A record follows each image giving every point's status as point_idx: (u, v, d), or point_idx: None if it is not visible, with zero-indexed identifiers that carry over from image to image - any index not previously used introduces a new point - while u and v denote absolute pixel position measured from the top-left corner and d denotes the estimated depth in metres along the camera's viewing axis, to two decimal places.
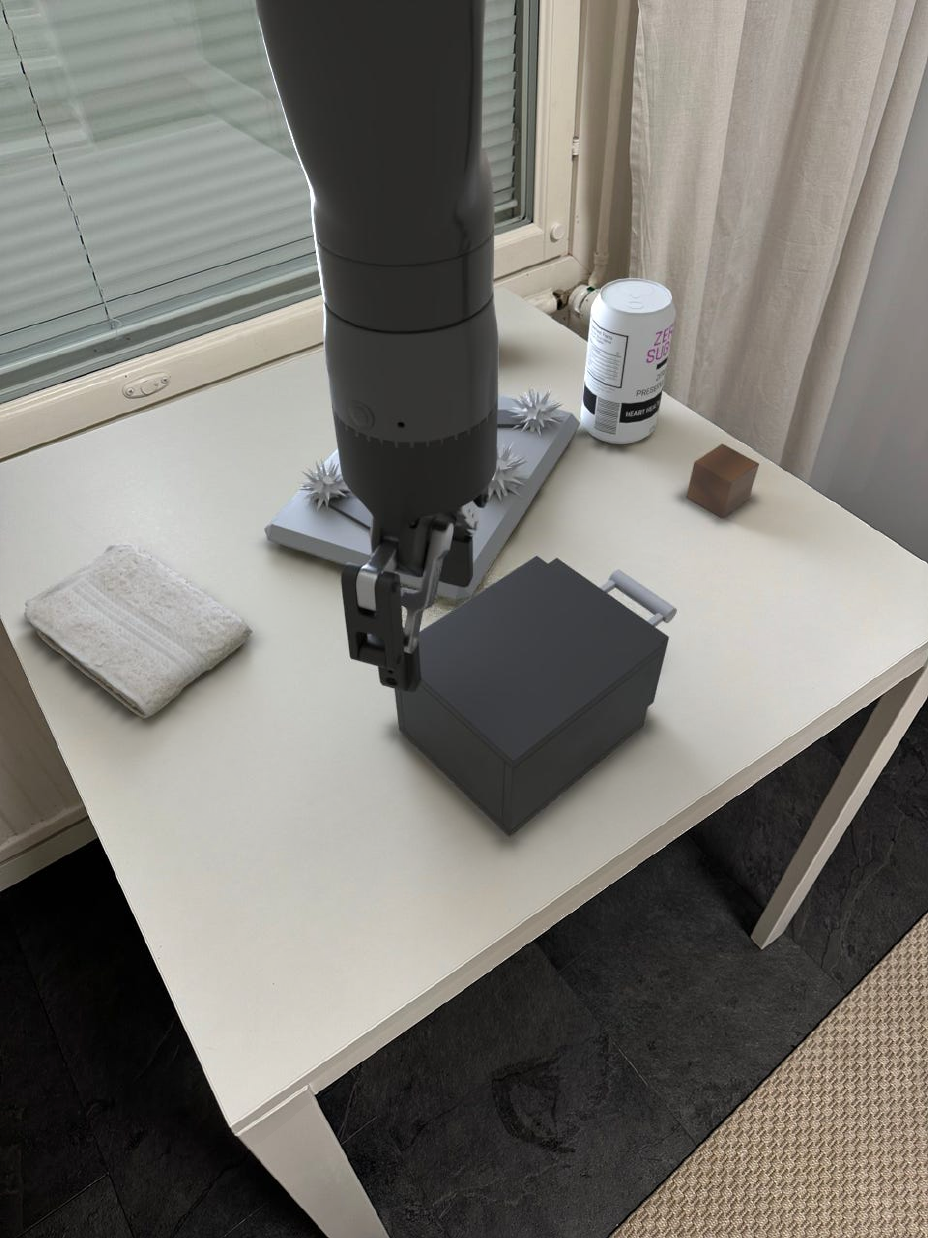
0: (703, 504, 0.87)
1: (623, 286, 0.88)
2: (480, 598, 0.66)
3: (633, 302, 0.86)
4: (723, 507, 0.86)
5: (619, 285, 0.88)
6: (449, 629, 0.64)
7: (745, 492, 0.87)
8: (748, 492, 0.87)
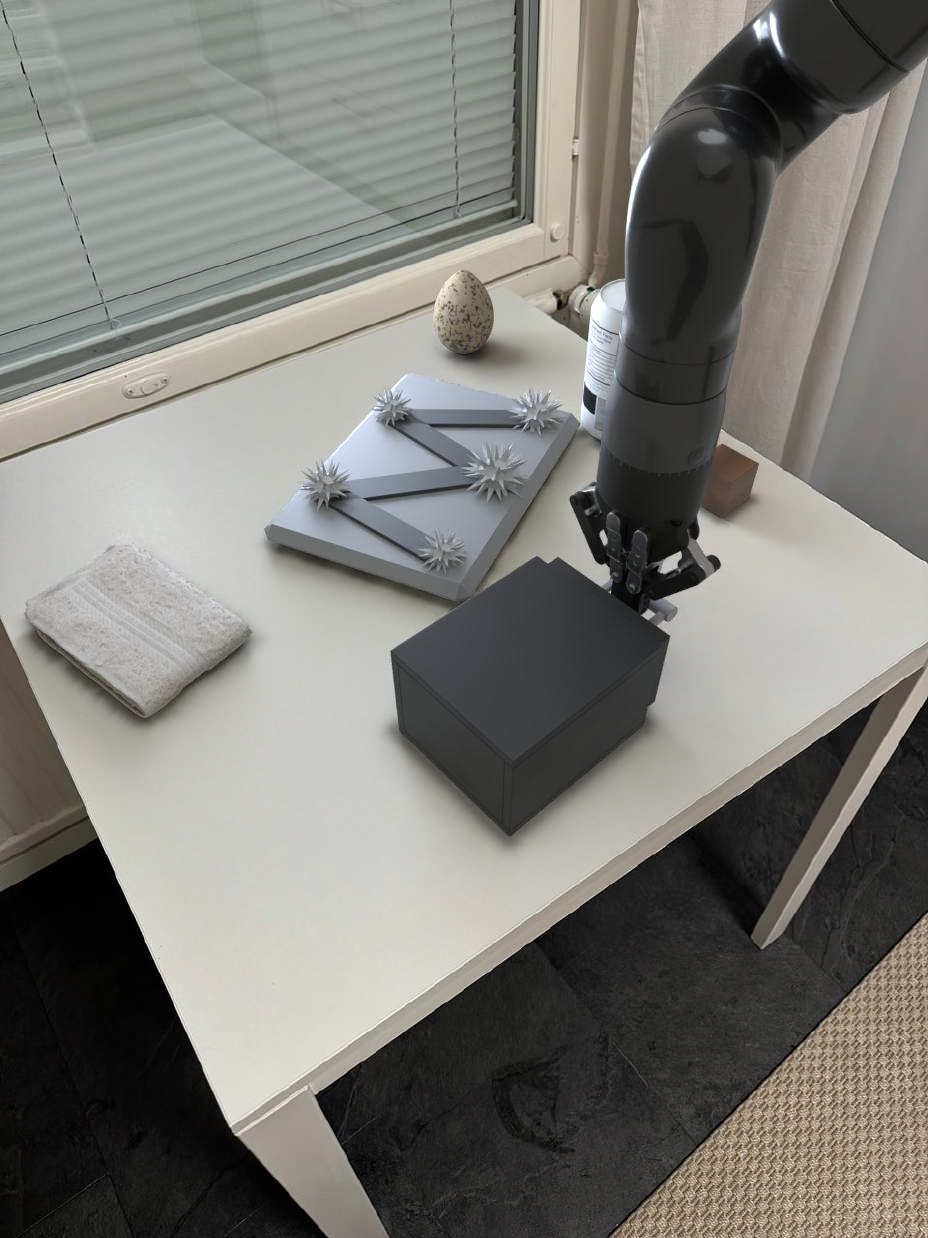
0: (703, 504, 0.87)
1: (623, 286, 0.88)
2: (480, 598, 0.66)
3: None
4: (723, 507, 0.86)
5: (619, 285, 0.88)
6: (449, 629, 0.64)
7: (745, 492, 0.87)
8: (748, 492, 0.87)
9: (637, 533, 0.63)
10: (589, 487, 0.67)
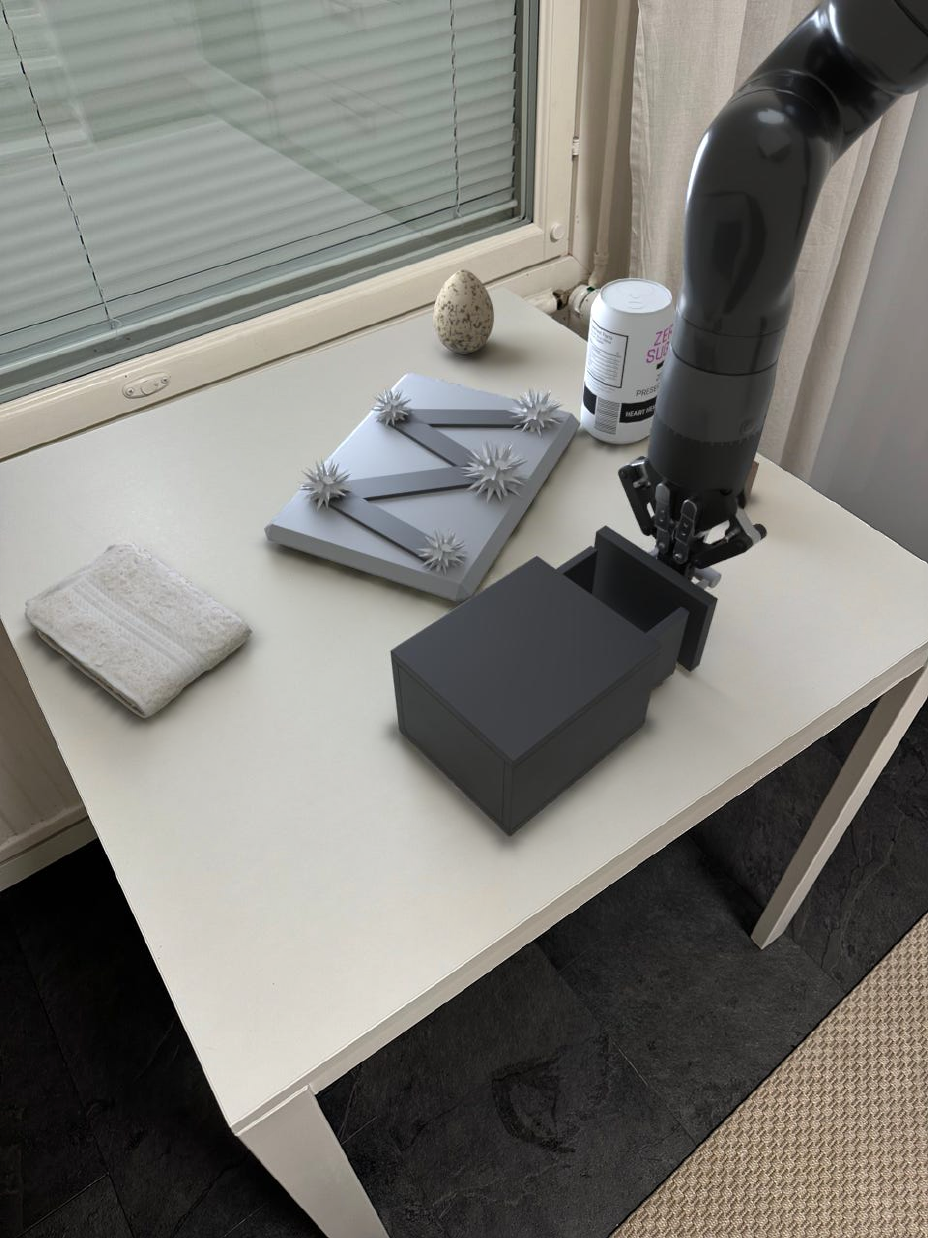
0: None
1: (623, 286, 0.88)
2: (480, 598, 0.66)
3: (633, 302, 0.86)
4: None
5: (619, 285, 0.88)
6: (449, 629, 0.64)
7: None
8: (748, 492, 0.87)
9: (686, 503, 0.65)
10: (637, 461, 0.70)
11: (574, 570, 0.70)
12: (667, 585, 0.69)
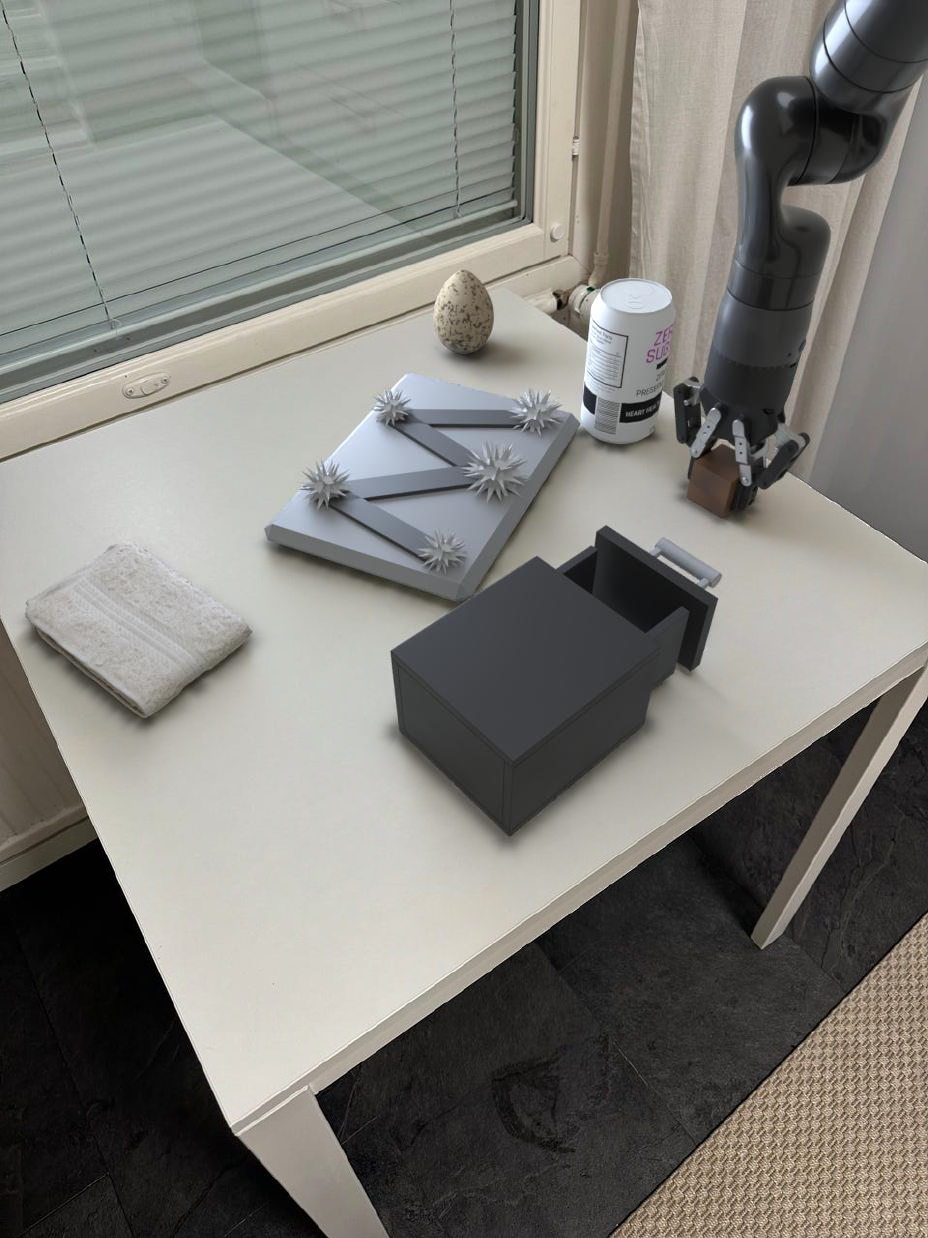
0: (703, 504, 0.87)
1: (623, 286, 0.88)
2: (480, 598, 0.66)
3: (633, 302, 0.86)
4: (723, 507, 0.86)
5: (619, 285, 0.88)
6: (449, 629, 0.64)
7: None
8: None
9: None
10: (793, 437, 0.78)
11: (574, 570, 0.71)
12: (668, 585, 0.69)
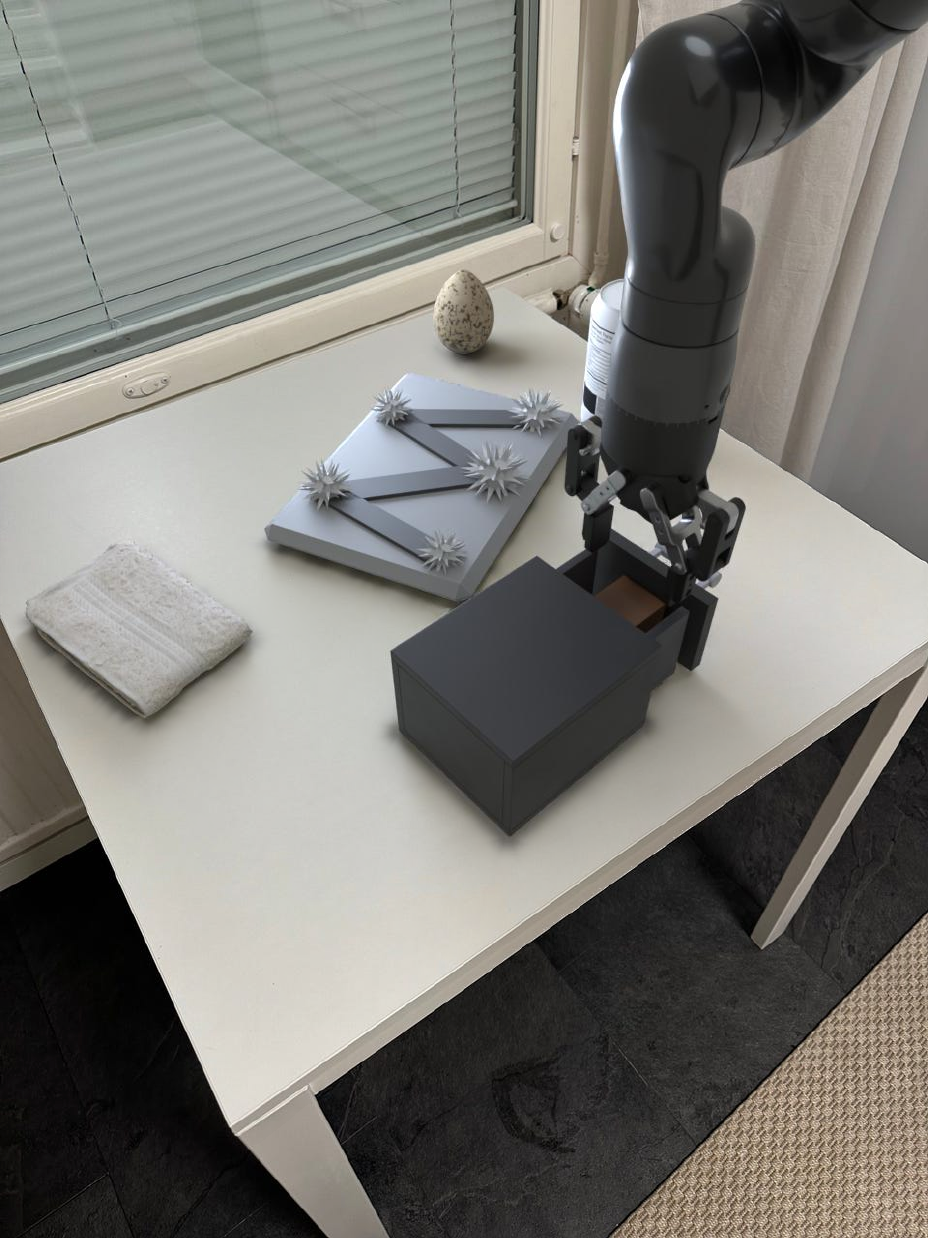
0: None
1: None
2: (480, 598, 0.66)
3: None
4: None
5: (619, 285, 0.88)
6: (449, 629, 0.64)
7: None
8: None
9: None
10: (720, 505, 0.57)
11: (575, 570, 0.71)
12: None
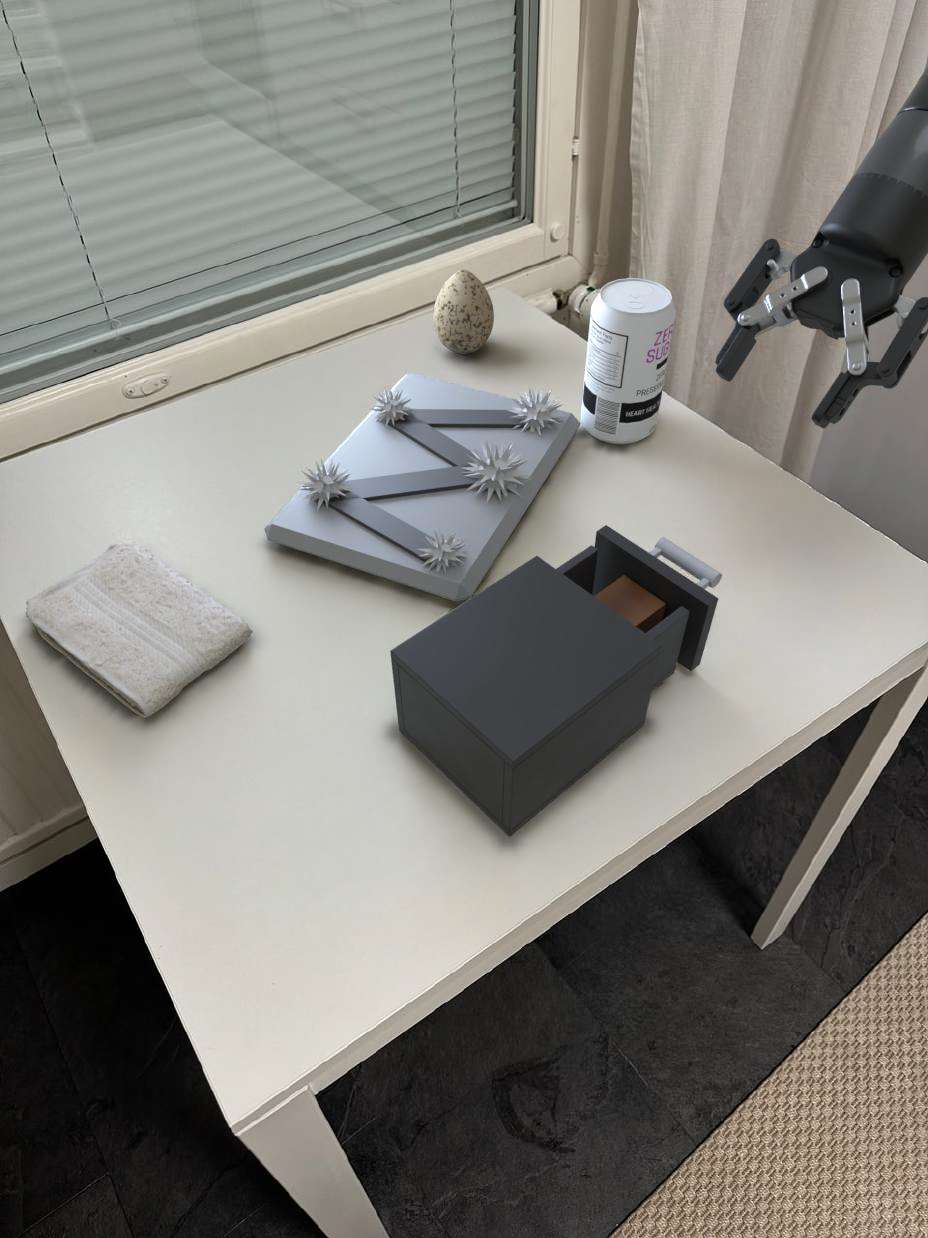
0: None
1: (623, 286, 0.88)
2: (480, 598, 0.66)
3: (633, 302, 0.86)
4: None
5: (619, 285, 0.88)
6: (449, 629, 0.64)
7: None
8: None
9: None
10: None
11: (575, 570, 0.71)
12: (668, 585, 0.69)
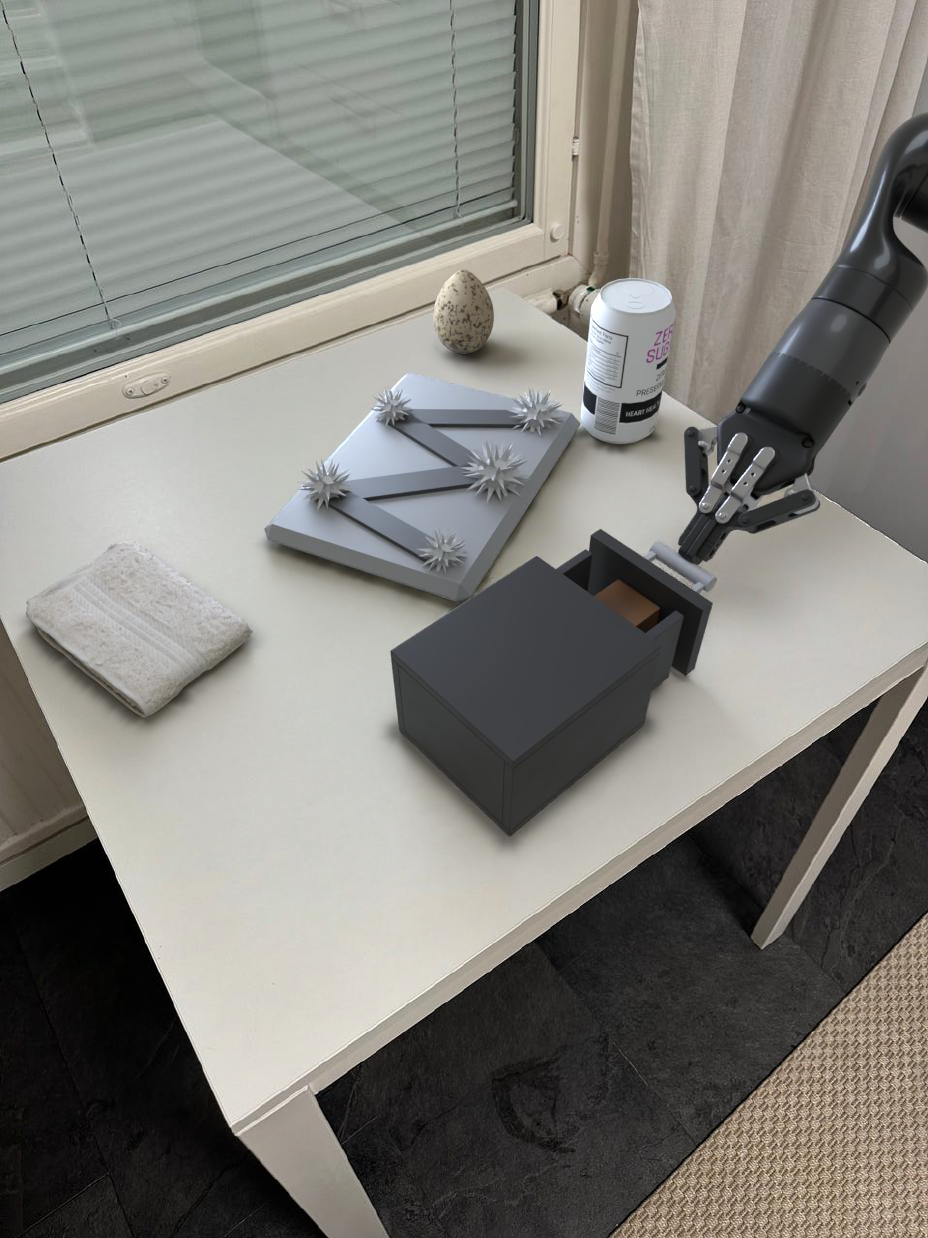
0: None
1: (623, 286, 0.88)
2: (480, 598, 0.66)
3: (633, 302, 0.86)
4: None
5: (619, 285, 0.88)
6: (449, 629, 0.64)
7: None
8: None
9: None
10: (813, 492, 0.69)
11: (568, 574, 0.70)
12: (662, 589, 0.69)
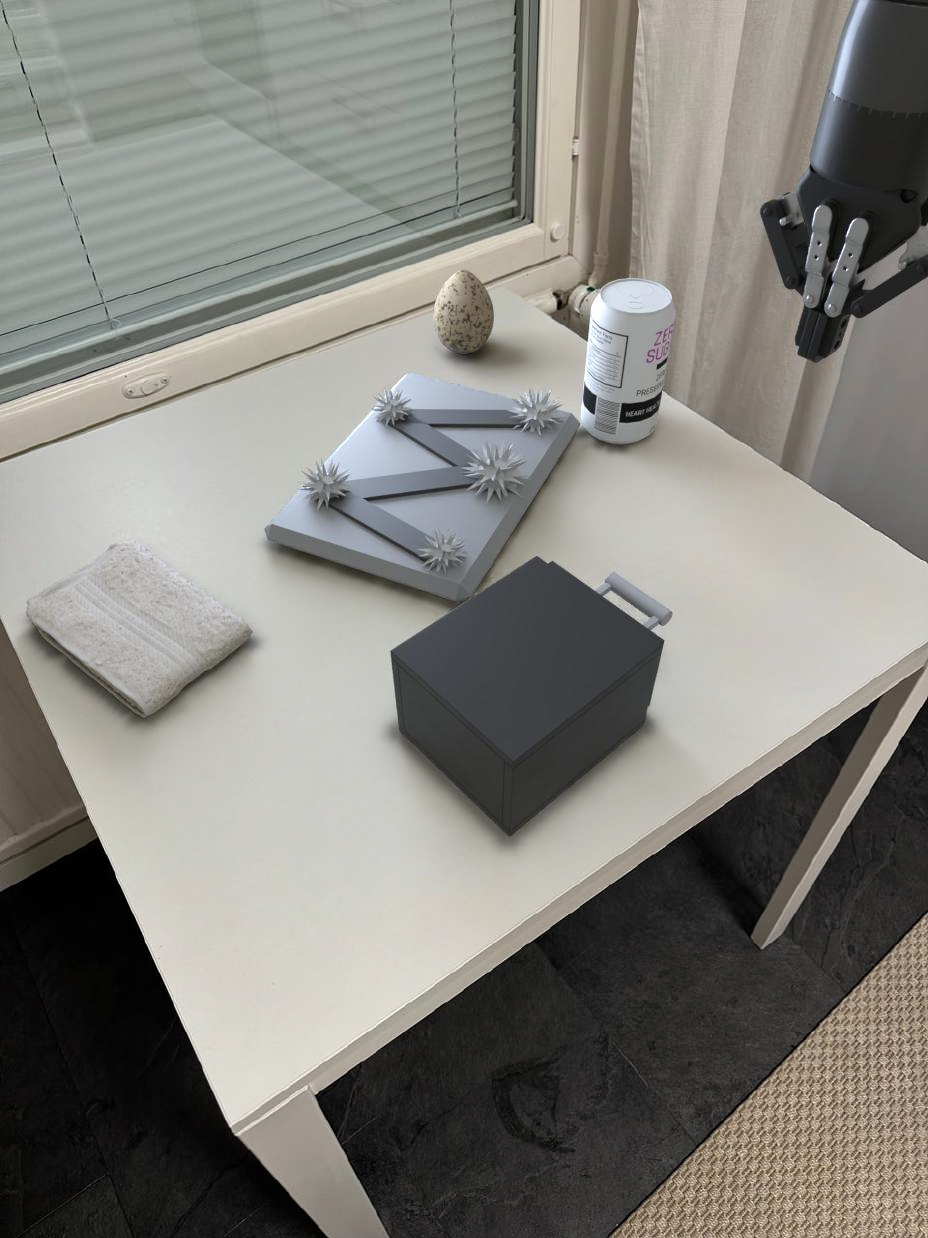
0: None
1: (623, 286, 0.88)
2: (480, 598, 0.66)
3: (633, 302, 0.86)
4: None
5: (619, 285, 0.88)
6: (449, 629, 0.64)
7: None
8: None
9: None
10: None
11: None
12: None
